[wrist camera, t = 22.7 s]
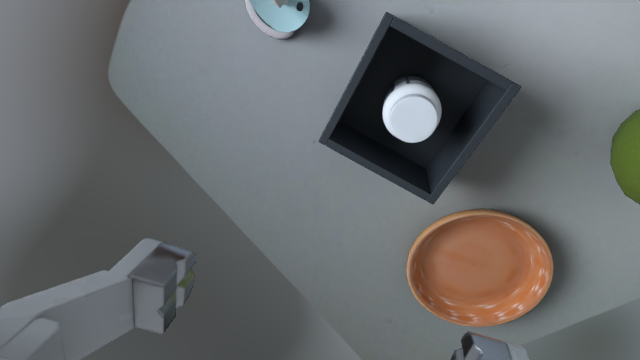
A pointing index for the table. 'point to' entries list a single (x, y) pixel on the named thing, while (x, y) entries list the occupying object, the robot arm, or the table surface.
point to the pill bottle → (411, 109)
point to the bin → (455, 97)
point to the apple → (627, 156)
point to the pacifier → (278, 16)
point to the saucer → (479, 268)
